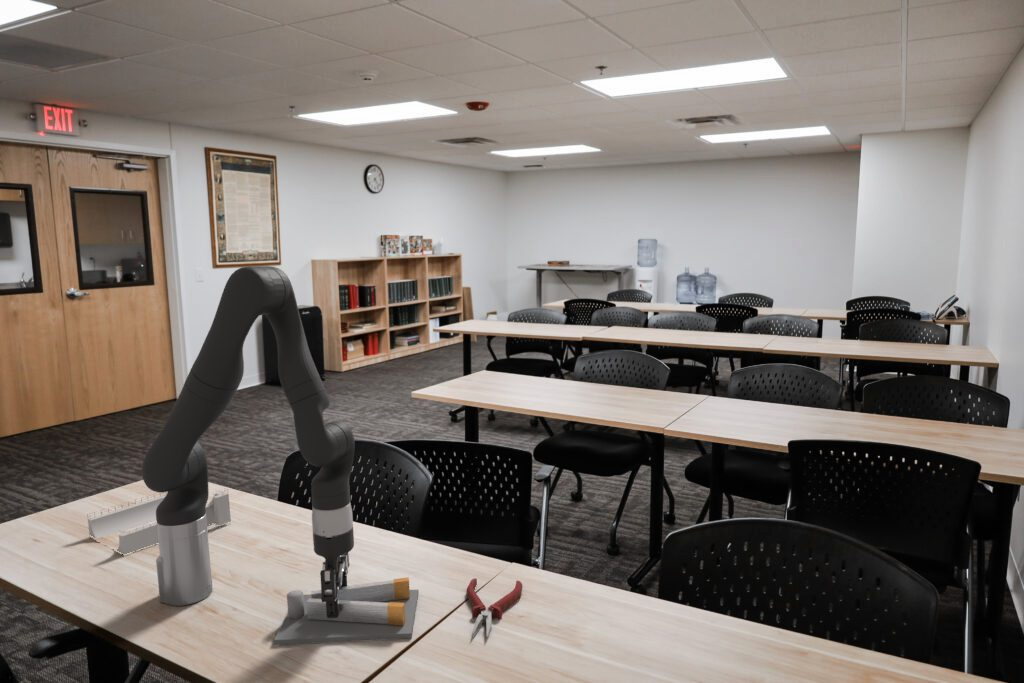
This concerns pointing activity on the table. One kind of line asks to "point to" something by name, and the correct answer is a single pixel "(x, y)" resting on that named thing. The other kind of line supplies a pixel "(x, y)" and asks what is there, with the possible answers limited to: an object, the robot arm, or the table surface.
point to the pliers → (494, 609)
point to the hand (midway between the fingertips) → (337, 604)
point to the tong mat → (339, 624)
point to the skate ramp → (147, 513)
